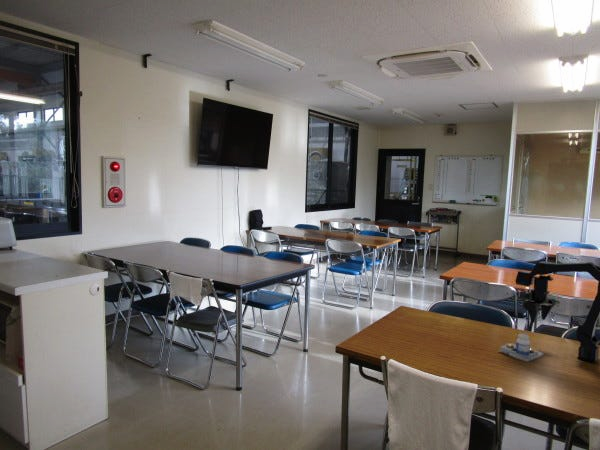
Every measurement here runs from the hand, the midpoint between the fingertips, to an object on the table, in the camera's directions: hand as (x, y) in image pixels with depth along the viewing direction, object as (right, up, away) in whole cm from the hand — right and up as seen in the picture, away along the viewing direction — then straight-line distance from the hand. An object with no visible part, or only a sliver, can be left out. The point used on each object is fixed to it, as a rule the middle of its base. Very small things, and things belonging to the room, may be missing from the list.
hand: (538, 321), depth 198 cm
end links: (-12, -13, -8) cm, 19 cm away
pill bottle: (-13, -14, -10) cm, 21 cm away
